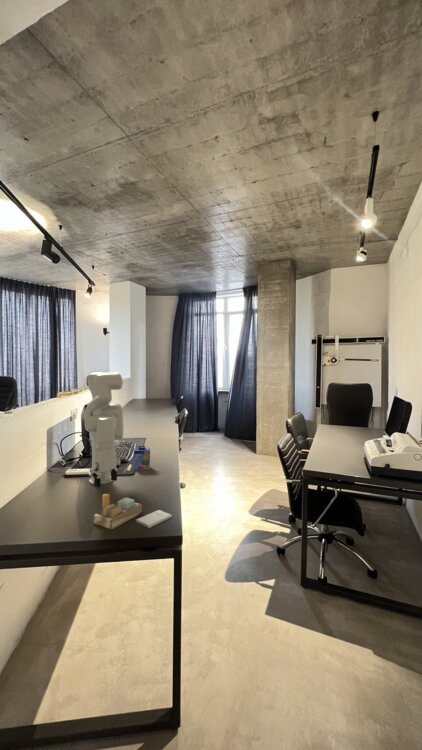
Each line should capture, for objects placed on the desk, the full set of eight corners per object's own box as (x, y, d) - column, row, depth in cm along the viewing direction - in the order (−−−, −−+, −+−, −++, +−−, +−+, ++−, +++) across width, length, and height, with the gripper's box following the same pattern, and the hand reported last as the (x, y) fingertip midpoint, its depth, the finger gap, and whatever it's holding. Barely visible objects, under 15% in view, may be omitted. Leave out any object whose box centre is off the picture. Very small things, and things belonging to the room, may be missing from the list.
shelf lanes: (94, 523, 135) (93, 514, 134) (124, 507, 150) (124, 499, 150) (112, 529, 130) (112, 520, 130) (141, 512, 145) (141, 504, 145)
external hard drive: (135, 523, 136) (158, 512, 146) (148, 529, 131) (171, 518, 140) (135, 519, 136) (158, 509, 146) (148, 525, 131) (171, 514, 140)
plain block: (103, 523, 135) (103, 508, 135) (112, 518, 139) (112, 504, 139) (112, 526, 133) (112, 511, 132) (121, 520, 137) (121, 506, 137)
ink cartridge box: (133, 470, 202) (133, 447, 201) (133, 467, 207) (133, 444, 207) (150, 469, 204) (150, 446, 204) (149, 466, 210) (149, 444, 209)
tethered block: (99, 509, 147) (99, 496, 147) (107, 505, 152) (107, 492, 152) (126, 517, 140) (126, 503, 139) (134, 513, 144) (134, 499, 144)
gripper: (113, 440, 157) (114, 476, 157) (83, 448, 142) (84, 488, 142) (125, 442, 154) (125, 479, 154) (96, 450, 138) (96, 491, 139)
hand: (105, 483), depth 148 cm, fingers open, 9 cm apart
